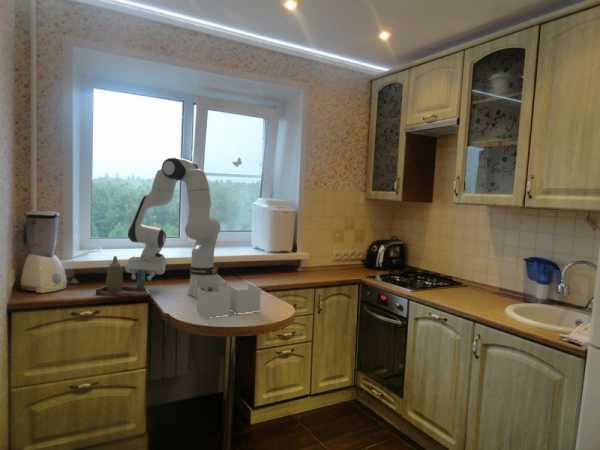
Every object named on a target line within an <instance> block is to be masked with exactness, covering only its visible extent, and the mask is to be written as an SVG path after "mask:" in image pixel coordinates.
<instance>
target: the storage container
mask: <svg viewBox="0 0 600 450" xmlns="http://www.w3.org/2000/svg"><path fill="white" fill-rule="evenodd" d="M247 284H248V285H247V288H246V289H236V288H235V287H233V286H232V285H231V284H227V286H228V289H226V288H225V287H223V286H219V292H210V293H206V292H204V291H203V290H201V289H200V287H197V298H196V311H197V312H198V313H199V314H200V315H201V316H202V317H201V316H200V315H199V314H198V313H197V312H196V313H197V314H198V315H199V316H200V317H201V318H203V317H204V318H210V317H216V316H223V315H230V316H231V311H230V310H232V311H233V312H235V313H236V314H238V313H245V312H252V311H258V310H260V311H261V297H262V296H261V293H262V288H260V287H258V286H257V285H254V284H252V283H247ZM204 318H203V319H204Z"/></svg>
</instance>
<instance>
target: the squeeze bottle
mask: <svg viewBox="0 0 600 450" xmlns="http://www.w3.org/2000/svg"><path fill="white" fill-rule="evenodd" d="M117 257H118V256H117V255H115V256H113V259H112V262H110V263H109V267H108V268H107V271H106V280H105V286H106V287H107V290H108V291H111V292H122V291H123V290H122V287H123V286H124V275H123V274H124V273H123V268H122V267H121V263H119V262H118V258H117Z"/></svg>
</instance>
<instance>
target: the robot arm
mask: <svg viewBox="0 0 600 450" xmlns="http://www.w3.org/2000/svg"><path fill="white" fill-rule="evenodd" d="M179 181H181V182H184V183H185V186H186V195H187V202H188V219H187V223H186V225H185V229H184V230H185V234H186V236H187V237H188V238H189V239H191V240H194V241H195V242H194V246H193V248H192V250H191V264H190V267H189V268H190V269H189V277H190V279H189V285H188V290H187V293H186V294H187V295H188V296H191V297H193V298H195V299H197V287H200V289H201V290H203V291H204V292H206V293H210V292H219V286H223V287H225V288H226V289H228V283H227V281H226V279H224V278H222V277H221V275H219V274H218V269H219V268H218V267H216V266H214V264H215V263H214V260H215V258H214V257H215V248H216V245H217V241H218V236H219V233H220V232H221V223H220V222H219V221H218V220H217V219H215V218H213V217H210V211H211V207H212V200H211V193H210V185H209V182H208V181H209V180H208V178H207V175H206V173H205V171H204V170H203V169H200V167H199V165H198V164H197V163H196V162H195V161H192V160H189V159H184V158H179V157H170V158H167V159H165V160H164V161H163V162H162V164H161V168H159V169H158V170H157V171H156V173H155V177H154V178H153V182H152V187H151V190H150V192H149V193H148V194H145V195H144V196H143V197H142V198H141V201H140V204H139V206H138V208H137V211H136V213H135V216H134V218H133V221H132V223H131V225H130V227H129V228H128V232H127V237H128V239H129V241H131V242H132V243H137V244H138V243H140V244H144V248H143V249H142V252H141V254H140V256H132V257H130V258H128V260H127V262H126V264H125V266H124V269H125V272H126V273H131V279H132V280H136V279H137V270H139V269H144V270H146V271H145V275H146V274H149V275H147V277H146V280H147V281H152V278H153V277H155V275H163V274H164V273H165V271H166V264H167V260H166V257H165V255H163V254H162V253H160V252H161V251H162V249H163V246H164V245H165V243H166V240H167V239H166V238H167V234H166V232H165V231H164V230H163V228H160V227H157V226H156V227H155V226H150V225H145V224H143V221H144V218H145V216H146V214H147V212H148V210H149V209H150V208H153V207H154V208H155V207H162V206H165V205H168V204H170V203H171V202H172V200H173V197H174V194H175V188H176V184H177V182H179Z"/></svg>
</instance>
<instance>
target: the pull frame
mask: <svg viewBox="0 0 600 450" xmlns="http://www.w3.org/2000/svg"><path fill="white" fill-rule="evenodd" d="M145 271H146V270H144V269H139V270H137V273H136V286H130V285H123V287H122V290H121V292H111V291H108V290H107V287H106V285H103V286H101V287H99V288H96V289H95V295H96V296H97V295H98V296H99V295H100V296H115V297H130V298H131V297H133V298H134V297H135V296H136V293H135V292H127V291H138V292H139V291H142V292H145V291H146V290H147V287H146V273H145ZM123 290H124V291H123ZM122 291H123V292H122Z"/></svg>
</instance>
